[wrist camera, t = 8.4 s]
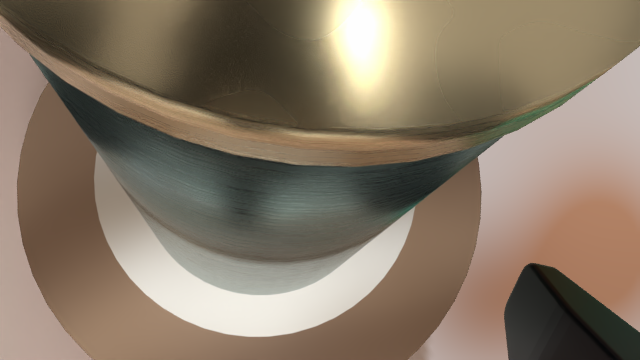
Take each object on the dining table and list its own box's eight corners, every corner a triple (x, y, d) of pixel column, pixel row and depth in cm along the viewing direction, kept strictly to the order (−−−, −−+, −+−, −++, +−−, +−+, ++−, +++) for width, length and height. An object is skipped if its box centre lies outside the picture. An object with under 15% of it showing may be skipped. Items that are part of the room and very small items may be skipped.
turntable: (542, 282, 19) (565, 277, 17) (140, 508, 16) (131, 522, 14) (347, -57, 21) (355, -83, 20) (-35, 81, 18) (-56, 61, 17)
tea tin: (405, 273, 17) (889, 56, 4) (155, 322, 16) (-160, 214, 3) (353, 52, 18) (599, -562, 6) (123, 81, 17) (-168, -618, 5)
